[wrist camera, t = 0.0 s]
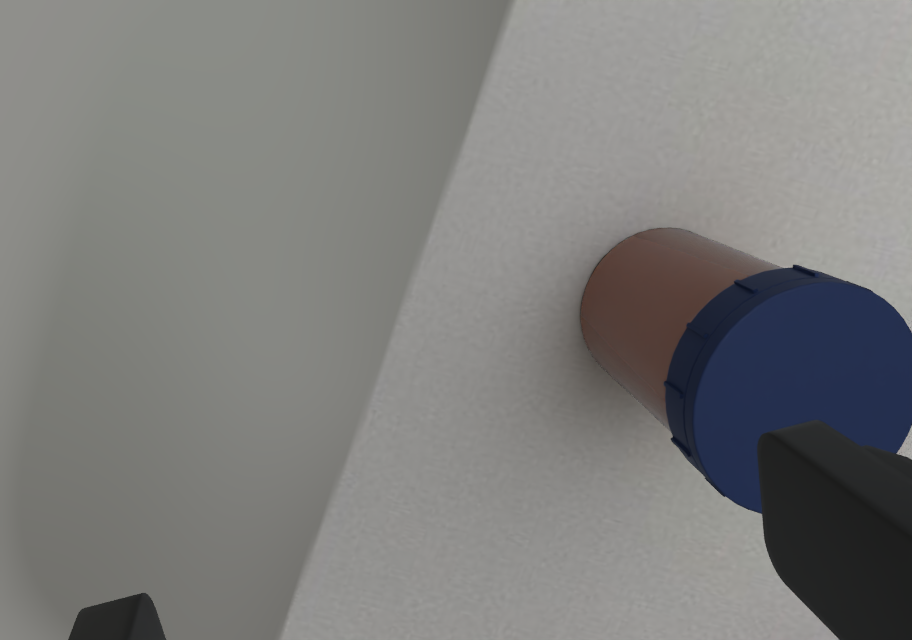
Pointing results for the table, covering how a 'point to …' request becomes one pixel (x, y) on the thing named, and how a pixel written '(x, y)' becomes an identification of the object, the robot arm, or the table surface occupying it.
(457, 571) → the table surface
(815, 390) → the lid
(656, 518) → the table surface
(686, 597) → the table surface
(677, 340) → the jar
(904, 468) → the robot arm
